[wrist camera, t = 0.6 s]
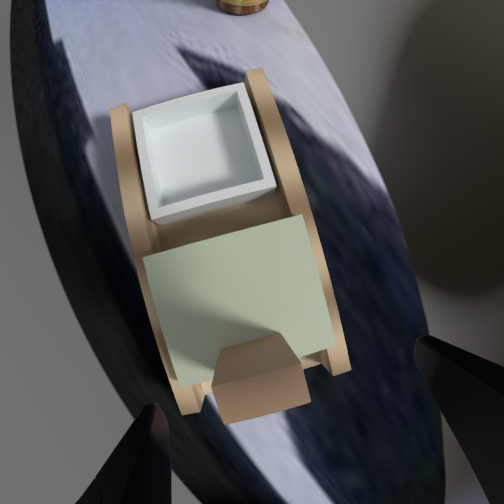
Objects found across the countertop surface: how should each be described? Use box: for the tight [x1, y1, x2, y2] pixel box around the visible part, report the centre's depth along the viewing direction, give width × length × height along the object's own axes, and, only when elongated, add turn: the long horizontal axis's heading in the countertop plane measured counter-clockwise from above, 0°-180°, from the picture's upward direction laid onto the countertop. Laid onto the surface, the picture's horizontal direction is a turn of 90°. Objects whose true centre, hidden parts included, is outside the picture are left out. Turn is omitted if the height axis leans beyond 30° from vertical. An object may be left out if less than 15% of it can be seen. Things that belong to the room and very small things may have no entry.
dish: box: [132, 82, 276, 226], centre depth 23 cm, size 9×9×3 cm
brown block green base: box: [142, 214, 336, 425], centre depth 17 cm, size 9×11×8 cm
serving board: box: [110, 68, 351, 415], centre depth 23 cm, size 24×14×4 cm, turn 15°
